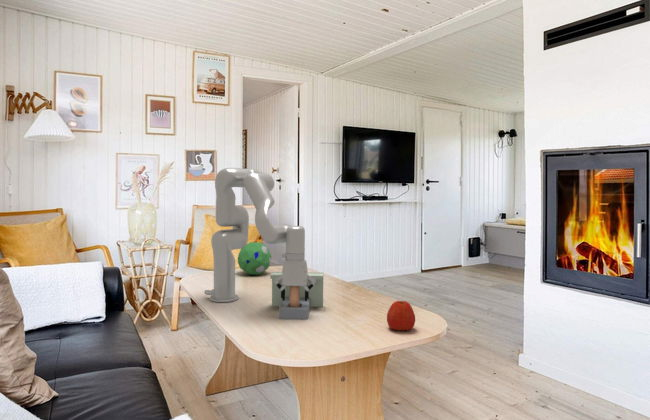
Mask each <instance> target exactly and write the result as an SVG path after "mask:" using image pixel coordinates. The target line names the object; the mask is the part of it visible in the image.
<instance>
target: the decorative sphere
mask: <svg viewBox="0 0 650 420" xmlns="http://www.w3.org/2000/svg"><path fill="white" fill-rule="evenodd" d="M271 261H272V254H271V252H270V249H269V248H268V247H267V246H266V245H264V244H263V243H262V242H257V241H255V242H252V241H251V242H247V244H246V246H245V247H243V248H241V249H240V250H239V252H238V256H237V264H238V266H239V268H240V270H242V271H243V272H244V273H246V274H247V275H248V276H260V275H261V274H263V273H264V272H266V271H267V270H268V269H269V268H270V264H271Z"/></svg>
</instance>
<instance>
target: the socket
mask: <svg viewBox="0 0 650 420" xmlns="http://www.w3.org/2000/svg"><path fill="white" fill-rule="evenodd" d="M278 310H279V311H278V312H279V313H278V314H279V317H278V319H279V320H308V319H309V316H310V315H309V314H310V310H311V307H310V298H309V299H307V301H305V298H300V307H290V298H286V297H285V300H284V301H283V302H282V304H281V306H279V309H278Z"/></svg>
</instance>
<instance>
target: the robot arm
mask: <svg viewBox="0 0 650 420" xmlns="http://www.w3.org/2000/svg"><path fill="white" fill-rule="evenodd" d="M274 187H275V179H274V178H273V176H272V175H271V174H269V173H267V172H263V171H259V170H255V169H253V168H252V169H251V168H241V167H226V168H222V169H220V170H219V171H218V172H217V174H216V175H215V179H214V188H215V222H216V225H217V226H219V227H224V228H225V227H226V228H227V227H230V228H231V227H232V228H231V229H219V230H217V231H215V232H214V233H213V234H212V235H211V240H210V241H211V242H210V243H211V248H212V255H213V288H212V289H211V290H210V289H205V290H204V295H205V296H208V295H209V296H210V298H209V299H210V301H211V302H213V303H231V302H235V301H238V300H239V298H240V296H239V295H238V294H236V259H235V255H234V253H233V252H232V251H233V250H239V249H240V250H241V248H243V247H245V246H246V244H248V243H249V242H248V241H249V228H250V227H249V226H250V225H249V224H250V217H249V212H248V210H247V208H246V207H244V206H243V205H237V204H236V194H235V192H234V189H233V188H244V189H245V190H246V193H247V195H248V196H249V198H250V200H251V202H252V204H253V206H254V207H255V213H254V223H255V227H256V229H257V232H258V233H259V235H260V237H261V239H262V240H263V242H265V243H266V244H268V245H276V244H283V243H284V244H285V253H282V254H281V257H282V258H284V260H283V264H282V269H281V270H282V271H281V272H282V275H281V276H279V277H277V278H276V279H274V282H275V284H276V285H277V287H278V288H279V289H280V290H281V298H282V301H284V300H285V289H284V288H285V287H286V286H304V288H305V289H306V290H305V301H307V299H309V290H310V289H311V288H312V287H313V286H314V284H315V283H316V280H315V279H314V278H312V277H311V276H309V275H308V273H309V272H308V262H307V260H306V257H305V256H306V255H305V247H306V246H305V245H306V231H305V227H303V226H301V225H290V224H285V223H283V224H282V223H281V224H273V223H272V222H271V220H270V218H269V215H268V211H269V210H270V209H271V208H272V207H273V206H274V205H275V199H274V196H273V194H271V191H272V190H273V189H274ZM280 279H282V285H281V284H280V283H279V282H278V281H279V280H280ZM308 279H309V280H310V281H312V283H311V284H310V285H309V286H308V285H307V282H308Z"/></svg>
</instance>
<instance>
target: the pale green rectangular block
mask: <svg viewBox="0 0 650 420" xmlns="http://www.w3.org/2000/svg"><path fill="white" fill-rule="evenodd" d="M281 275H282V271H272V272H271V273H270V277H269V278H270V279H271V307H280V306H281V304H282V302H283V301H282V298H281V290H280V289H279V288H278V287H277V285H276V284H275V282H274V279H276V278H277V277H279V276H281ZM308 275H309V276H311V277H312V278H314V279H315V280H316V283H315V284H314V286H313V287H312V288H311V289H310V290H309V298H310V308H315V307H316V308H323V307H324V272H308ZM278 282H279V283H280V284H281V285H282V279H280V280H279V281H278ZM311 283H312V281H310V280H309V279H308V282H307V285H308V286H309V285H310V284H311ZM284 289H285V297H286V298H290V286H286V287H285V288H284ZM305 290H306V289H305V288H304V286H300V298H305Z"/></svg>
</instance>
